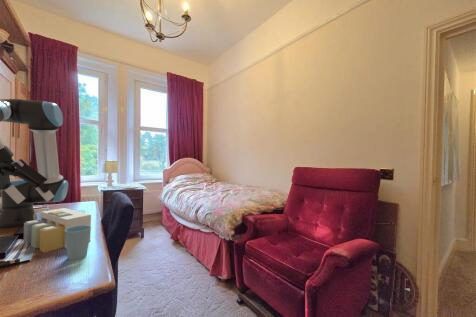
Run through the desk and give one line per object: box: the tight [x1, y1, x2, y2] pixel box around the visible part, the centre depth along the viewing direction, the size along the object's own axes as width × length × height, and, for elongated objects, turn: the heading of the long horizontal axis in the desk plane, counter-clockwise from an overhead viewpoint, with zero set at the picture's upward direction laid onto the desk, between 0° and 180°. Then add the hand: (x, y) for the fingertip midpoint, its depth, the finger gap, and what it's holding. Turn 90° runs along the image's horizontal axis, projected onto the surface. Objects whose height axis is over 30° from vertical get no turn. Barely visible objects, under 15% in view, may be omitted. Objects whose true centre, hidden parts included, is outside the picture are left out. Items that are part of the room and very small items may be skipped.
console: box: [40, 207, 92, 249], centre depth 95 cm, size 9×22×12 cm, turn 61°
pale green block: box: [30, 222, 55, 249], centre depth 89 cm, size 8×4×8 cm, turn 151°
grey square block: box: [23, 219, 47, 245], centre depth 93 cm, size 8×4×8 cm, turn 151°
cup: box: [65, 225, 92, 261], centre depth 79 cm, size 8×8×10 cm
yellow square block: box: [39, 225, 65, 254], centre depth 86 cm, size 8×4×8 cm, turn 151°
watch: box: [33, 207, 52, 220], centre depth 105 cm, size 6×8×11 cm
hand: (35, 200), depth 80 cm, fingers open, 13 cm apart
